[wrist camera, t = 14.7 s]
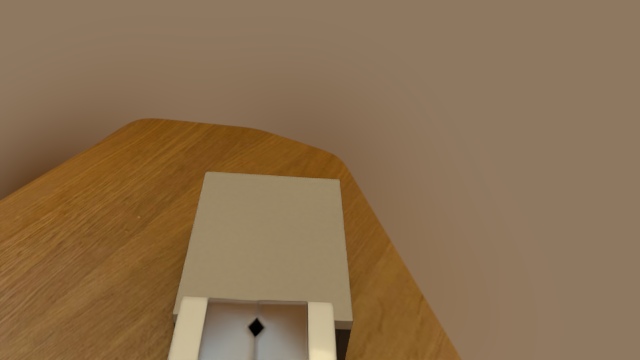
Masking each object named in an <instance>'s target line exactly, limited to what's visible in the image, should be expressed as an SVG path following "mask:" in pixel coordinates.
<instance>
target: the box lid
mask: <svg viewBox="0 0 640 360" xmlns="http://www.w3.org/2000/svg"><path fill="white" fill-rule="evenodd" d="M184 296H188V297H207V298H224V299H239V300H254V301H258V300H280V301H306V302H324V303H332V305H333V309H334V325H335V329H349V330H351V328H352V323H353V315H352V305H351V295H350V284H349V274H348V264H347V253H346V243H345V232H344V222H343V212H342V201H341V191H340V180H334V179H318V178H301V177H285V176H269V175H252V174H236V173H220V172H206V173H205V178H204V182H203V186H202V190H201V195H200V199H199V203H198V208H197V212H196V216H195V220H194V225H193V229H192V233H191V238H190V242H189V246H188V250H187V255H186V259H185V263H184V268H183V272H182V276H181V281H180V285H179V289H178V293H177V298H176V302H175V306H174V311H173V322H174V323H176V320H177V316H178V311H179V307H180V303H181V301H182V299H183V297H184Z"/></svg>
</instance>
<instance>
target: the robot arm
mask: <svg viewBox="0 0 640 360" xmlns="http://www.w3.org/2000/svg"><path fill="white" fill-rule="evenodd" d="M168 360H337V356H336V340H335V325H334V309H333V305H332V303H324V302H306V301H280V300H258V301H254V300H239V299H224V298H207V297H188V296H184V297H183V299H182V301H181V303H180V307H179V311H178V316H177V320H176V324H175V329H174V333H173V338H172V342H171V346H170V351H169V355H168Z"/></svg>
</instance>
